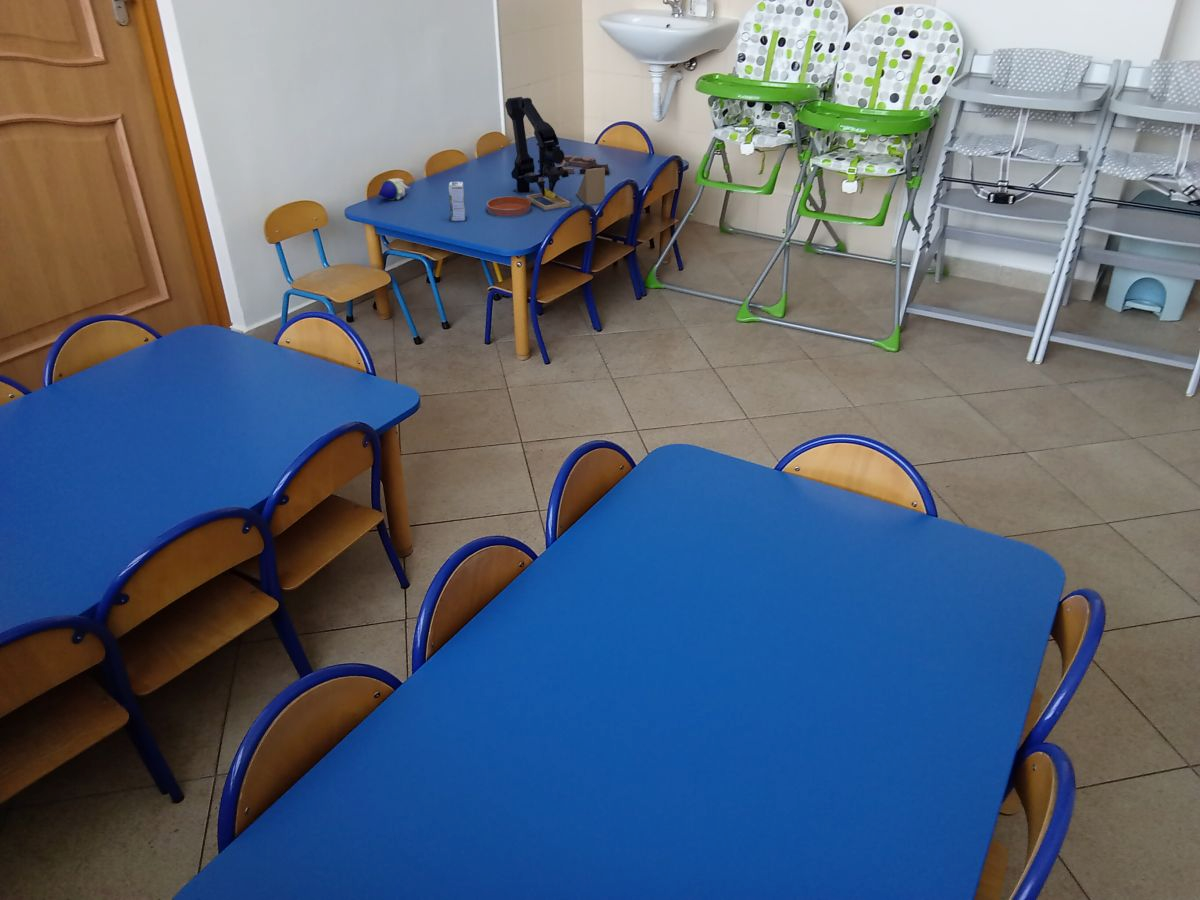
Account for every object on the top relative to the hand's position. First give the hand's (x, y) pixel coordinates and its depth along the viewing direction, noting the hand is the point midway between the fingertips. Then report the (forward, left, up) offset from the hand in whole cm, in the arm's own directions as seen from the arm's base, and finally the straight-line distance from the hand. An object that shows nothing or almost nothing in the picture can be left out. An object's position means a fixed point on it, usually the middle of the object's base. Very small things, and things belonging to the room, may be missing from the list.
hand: (547, 195), depth 382 cm
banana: (0, 0, -1) cm, 1 cm away
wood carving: (-41, +42, -4) cm, 59 cm away
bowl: (0, -18, -4) cm, 19 cm away
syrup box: (-1, -41, -4) cm, 41 cm away
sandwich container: (+4, +19, -4) cm, 20 cm away
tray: (0, 0, -4) cm, 4 cm away
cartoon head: (-41, -54, -4) cm, 68 cm away
